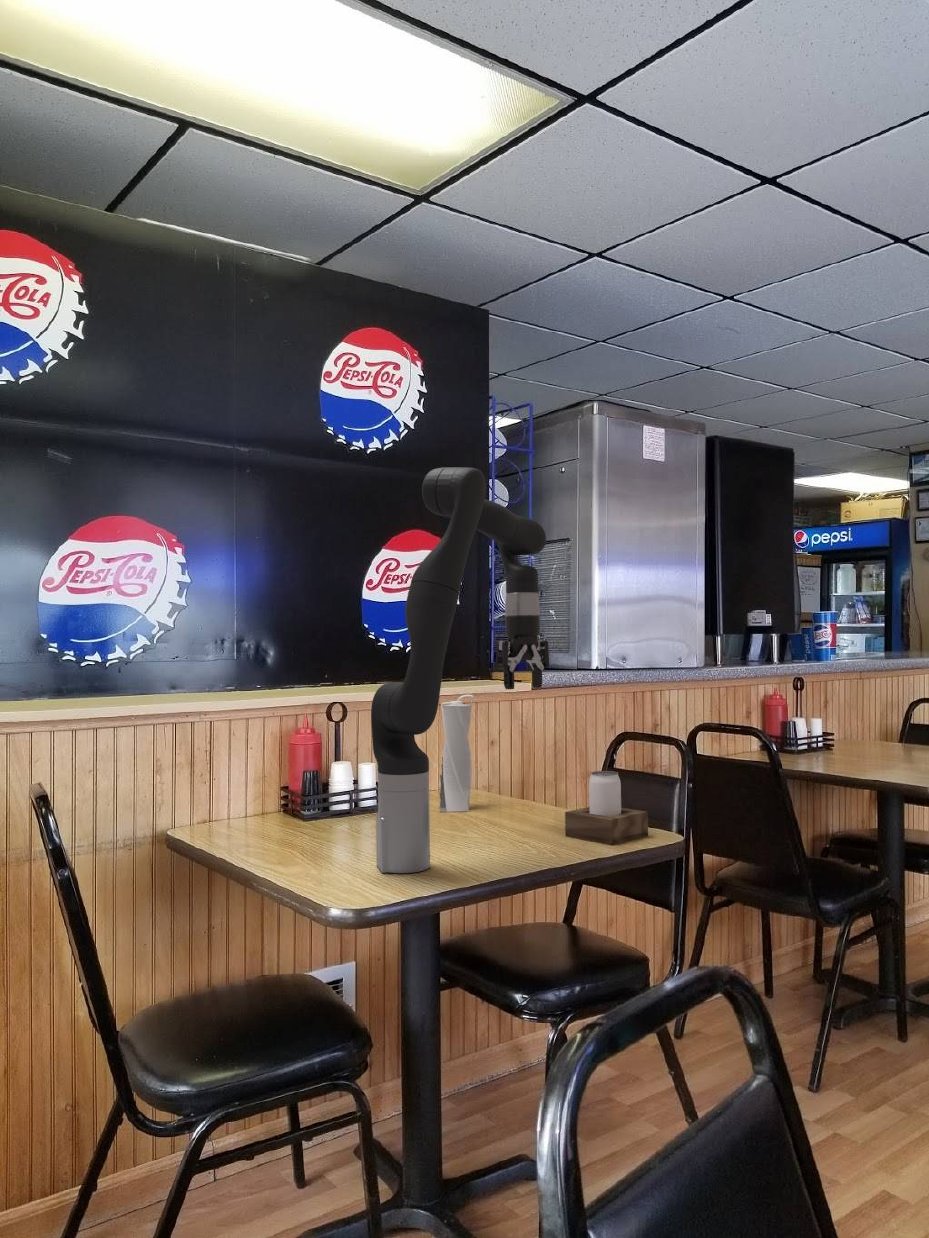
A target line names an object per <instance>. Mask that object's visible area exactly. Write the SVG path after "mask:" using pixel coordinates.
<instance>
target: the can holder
mask: <svg viewBox="0 0 929 1238" xmlns="http://www.w3.org/2000/svg"><path fill="white" fill-rule="evenodd" d="M564 829H565V830H564V833H565V837H567V838H573V839H576V840H577V839H578V840H582V841H587V842H594V843H598V844H604V845H608V846H614V845H617V844H622V843H626V842H631V841H633V840H638V839H641V838H645V837H648V836H649V811H645V810H639V809H633V808H626V807H621V814H620V815H615V816H610V817H608V816H602V815H596V814H590V809H589V806H588V807H584V808H579V809H574V810H569V811H565V812H564Z"/></svg>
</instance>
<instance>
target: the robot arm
mask: <svg viewBox="0 0 929 1238" xmlns="http://www.w3.org/2000/svg"><path fill="white" fill-rule="evenodd" d="M486 494H487V482H486V478H485V475H484V474H483V472H482V471H481V470H480V469H479V468H475V467H464V466H463V467H460V466H459V467H454V466H453V467H451V466H449V467H445V466H444V467H443V466H442V467H438V468H437V467H436V468H434V469H431V470H430V471H429V472H428V473H427V474H426V475H425V477H424V479H423V482H422V485H421V495H422V500H423V503H424V505H425V507H426V509H427V510H428V511H430V512H431V513H432V514H434V515H437V516H441V517H445V518H448V519H450V521H449V524H448V526H447V528H446V531H445V532H444V534H443V536H442V538H441V539H440V540H439V542H438V543H437V545H435V546H434V548H433V549H432V550H431V551H430V552H429V553H428V554H427V555H426V557H425V558H424V559H423V560H422V561H421V562H420V563H419V565H418V566H417V567H416V569H415V571H414V572H413V575H412V578H411V581H410V585H409V588H408V593H407V596H406V600H405V608H404V617H405V624H406V628H407V633H408V638H409V645H410V652H409V653H410V655H409V661H408V667H407V670H406V674H405V678H404V679H403V682H402V681H391V682H386V683H383V684H382V685H381V686H380V687H378V688H377V690H376V691H375V693H374V695H373V698H372V702H371V707H370V708H371V710H370V712H371V713H370V714H371V715H370V720H371V738H372V739H371V740H372V751H373V756H374V758H375V761H376V764H377V796H378V797H377V807H378V808H377V809H378V811H377V812H376V814H375V819H376V820H375V826H376V827H375V832H376V833H375V834H376V835H375V837H376V839H375V840H376V841H375V842H376V846H375V848H376V849H375V850H376V866H377V868H378V869H379V870H380V873H384V874H385V873H393V874H410V873H412V874H413V873H418V872H422V871H427V870H428V869H430V867H431V837H430V836H431V829H430V827H431V826H430V824H431V823H430V760H429V759H430V758H429V756H428V755H427V754H426V753H425V752H424V751H423V749H421V748H420V747H419V745H418V744H417V741H416V737H415V736H416V735H417V736H418V735H422V734H423V733H426V732H427V731H428V730H429V729H430V728H431V726H433V723H434V722H435V719H436V716H437V713H438V709H439V708H438V707H439V703H440V696H441V695H440V693H441V688H442V687H441V686H442V680H443V679H442V678H443V671H444V664H445V663H444V662H445V658H446V654H447V649H448V644H449V639H450V633H451V629H452V625H453V621H454V618H455V614H456V610H457V605H458V602H459V597H460V592H461V586H462V581H463V578H464V573H465V568H466V564H467V560H468V556H469V552H470V549H471V545H472V543H473V540H474V537H475V533H476V531H478V532H479V533H482V534H483V535H485V536H486V537H488V538H490V539H491V540H492V541H494V542H496V543H497V548H498V551H499V554H500V558H501V561H502V565H503V569H504V573H505V601H504V602H505V603H504V608H505V609H504V614H505V615H504V617H505V618H504V620H505V625H504V626H505V636H507V640H498V641H496V647H495V648H496V652H495V654H496V657H495V668H496V669H498V670H501V671H502V672H503V686H504V689H505V690H514V689H515V671H514V670H515V669H516V666H517V665H518V664H519V663H520V662H521V661H526V663H527V664H529V665H530V667H531V669H532V671H531V687H532V688H533V689H534V688H535V689H540V688H542V686H543V671H544V669H545V668H549V667H550V655H549V651H550V650H549V641H548V640H544V639H543V640H538V636H539V635H540V634H541V625H540V624H541V622H540V621H541V618H540V617H541V615H540V614H541V613H540V611H541V610H540V605H541V604H540V598H539V573H538V569H537V568H536V567H534V566H530V565H525V564H522V563H521V562H520V560H519V556H529V555H530V556H532V555H537V554H539V553H540V552H542V551H543V550H544V548H545V546H546V543H547V536H546V535H547V534H546V531H545V529H544V528H543V526H542V525H541V524H540V523H539V522H537V521H535V520H534V519H531V518H528V517H525V516H521V515H517V514H515V513H513V511H511V510H509V509H508V508H507V507H505V506H503V505H501V504H499V503H497V502H495V501H492V500H489V499H486Z"/></svg>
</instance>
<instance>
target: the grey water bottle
mask: <svg viewBox="0 0 929 1238" xmlns="http://www.w3.org/2000/svg"><path fill="white" fill-rule="evenodd" d="M466 697H467V698H468V697H471V701H470V704H463V700H461V699H462V698H466ZM473 702H474V695H472V694H463V695H461V696H459V697H458V698H457V700H455V701H454V700H452V701H446V702H442V703H441V704H440V706H441V707H440V708H441V715H442V724H443V725H442V727H443V731H444V732H443V733H444V745H443V751H442V752H443V753H442V757H441V759H442V760H441V761H442V762H441V765H440V766H441V773H440V774H439V781H440V787H439V788H440V789H439V798H440V801H439V812H440V813H443V814H444V813H445V814H446V813H470V809H469V808H470V801H471V800H470V799H471V789H472V787H471V786H472V772H473V771H472V767H473V766H472V753H471V751H472V750H471V747H470V746H471V745H470V740H469V734H470V733H469V732H470V726H471V719H472V717H471V715H472V706H473Z"/></svg>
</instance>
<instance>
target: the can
mask: <svg viewBox="0 0 929 1238" xmlns="http://www.w3.org/2000/svg"><path fill="white" fill-rule="evenodd" d="M621 788H622V783H621V779H620V777H619V772H617V771H611V770H610V771H609V770H596V771H595V770H594V771H592V772H590V777H589V780H588V791H589V792H588V795H589V796H588V797H589V800H588V801H589V802H588V803H589V804H588V805H589V806H588V807H589V809H590V814H596V815H602V816H608V817H610V816H615V815H620V814H621V808H622V789H621Z"/></svg>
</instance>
